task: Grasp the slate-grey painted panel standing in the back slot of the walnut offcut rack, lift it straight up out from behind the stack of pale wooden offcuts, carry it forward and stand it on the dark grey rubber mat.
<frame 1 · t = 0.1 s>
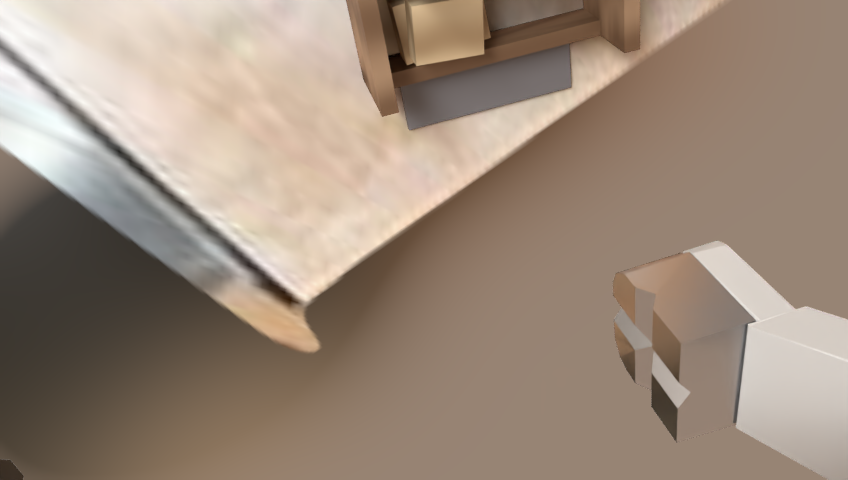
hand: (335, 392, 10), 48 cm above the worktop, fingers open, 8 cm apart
offcut mid: (435, 14, 56), point 1 cm above the worktop, touching offcut long, offcut short
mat: (487, 84, 62), on the worktop
offcut short: (441, 22, 55), point 3 cm above the worktop, touching offcut mid
offcut long: (423, 6, 58), on the worktop, touching offcut mid
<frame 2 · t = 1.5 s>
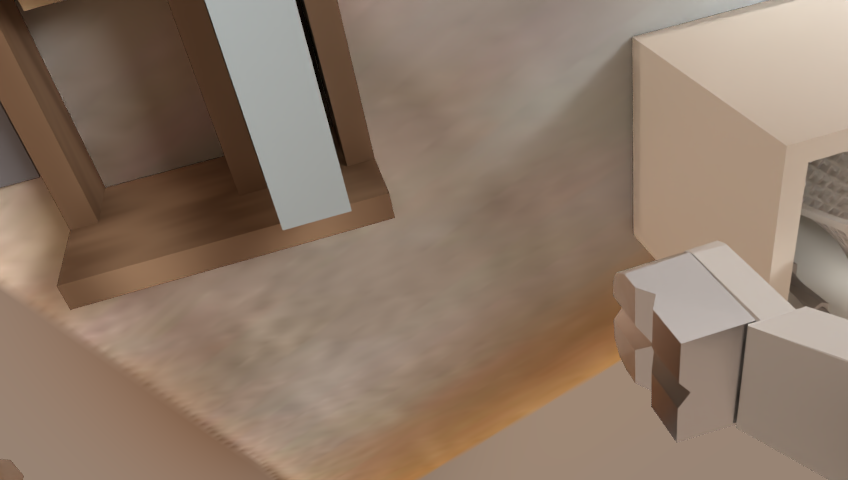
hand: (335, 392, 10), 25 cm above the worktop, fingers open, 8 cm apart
open white box: (736, 115, 41), on the worktop
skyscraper: (742, 119, 41), point 1 cm above the worktop, touching open white box
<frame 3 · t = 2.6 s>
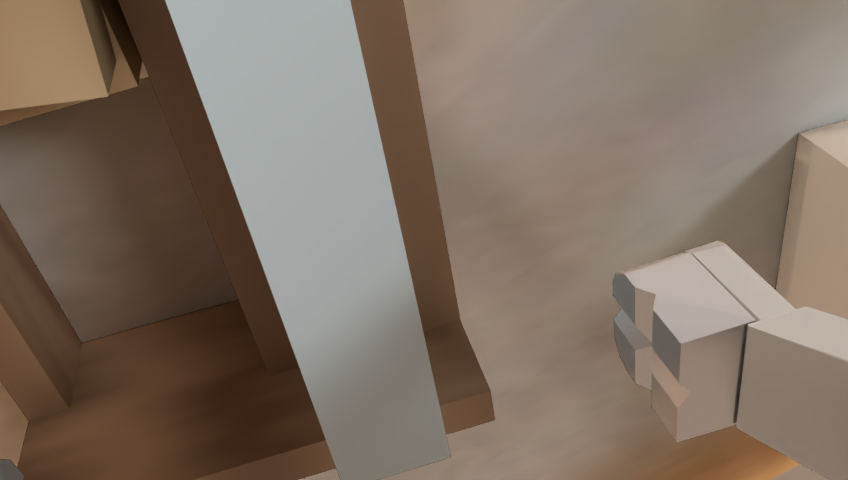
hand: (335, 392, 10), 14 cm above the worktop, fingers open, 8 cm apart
rack: (237, 42, 21), on the worktop
sheet: (277, 31, 21), on the worktop
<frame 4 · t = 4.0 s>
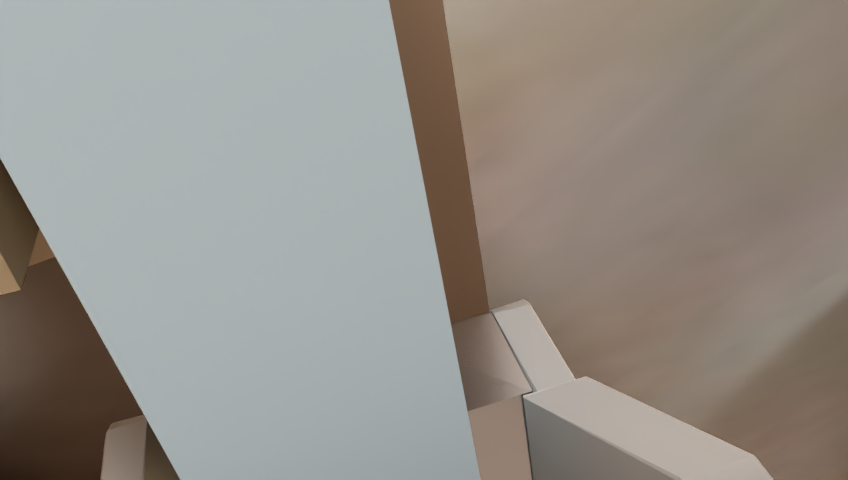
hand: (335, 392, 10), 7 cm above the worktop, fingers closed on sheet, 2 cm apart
rack: (227, 168, 16), on the worktop
sheet: (281, 153, 16), on the worktop, touching gripper
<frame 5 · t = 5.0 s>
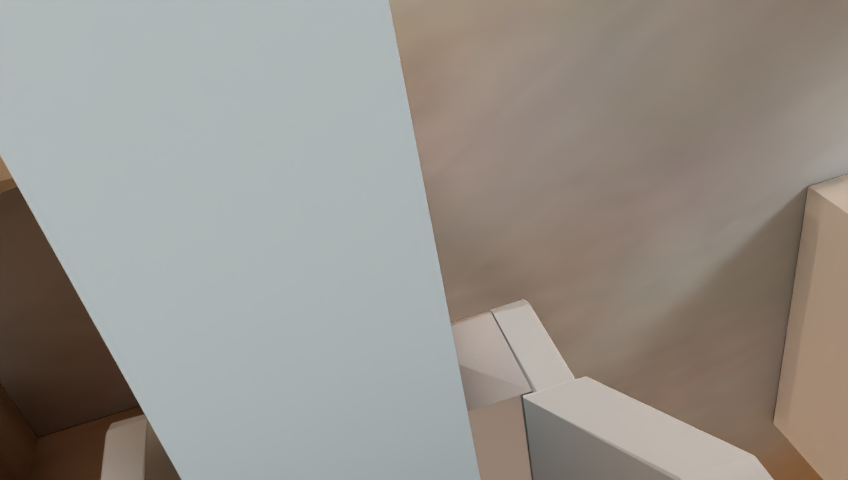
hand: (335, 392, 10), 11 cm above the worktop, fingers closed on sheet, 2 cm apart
rack: (202, 113, 19), on the worktop
sheet: (281, 153, 16), point 4 cm above the worktop, touching gripper
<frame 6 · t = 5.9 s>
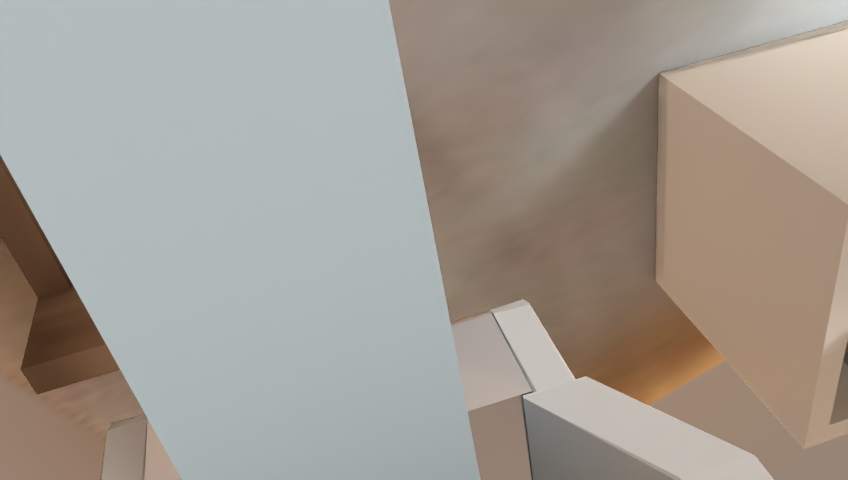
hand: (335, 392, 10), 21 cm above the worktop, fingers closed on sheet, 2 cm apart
open white box: (766, 153, 38), on the worktop
sheet: (281, 153, 16), point 14 cm above the worktop, touching gripper
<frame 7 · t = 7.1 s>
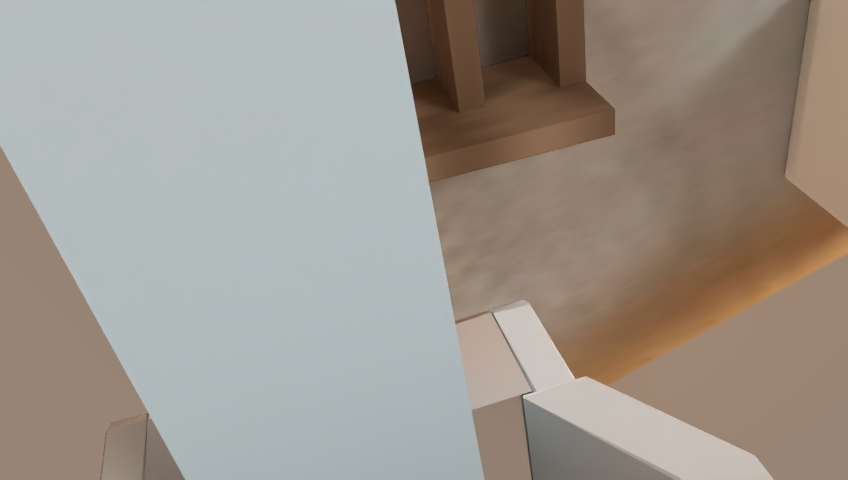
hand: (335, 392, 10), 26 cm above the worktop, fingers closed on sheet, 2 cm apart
sheet: (284, 154, 16), point 19 cm above the worktop, touching gripper
when the fingers open (8 cm above the worktop, at t = 11.2 s): sheet stays where it is, resting on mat.
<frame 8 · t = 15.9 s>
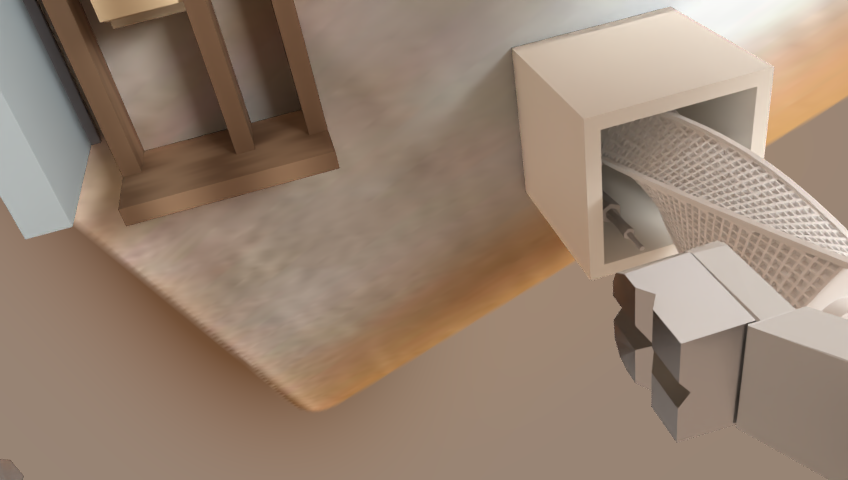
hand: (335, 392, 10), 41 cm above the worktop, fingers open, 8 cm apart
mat: (19, 44, 45), on the worktop
open white box: (594, 103, 57), on the worktop
sheet: (20, 46, 45), resting on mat
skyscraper: (597, 106, 57), point 1 cm above the worktop, touching open white box
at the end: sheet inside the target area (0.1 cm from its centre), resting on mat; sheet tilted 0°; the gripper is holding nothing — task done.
